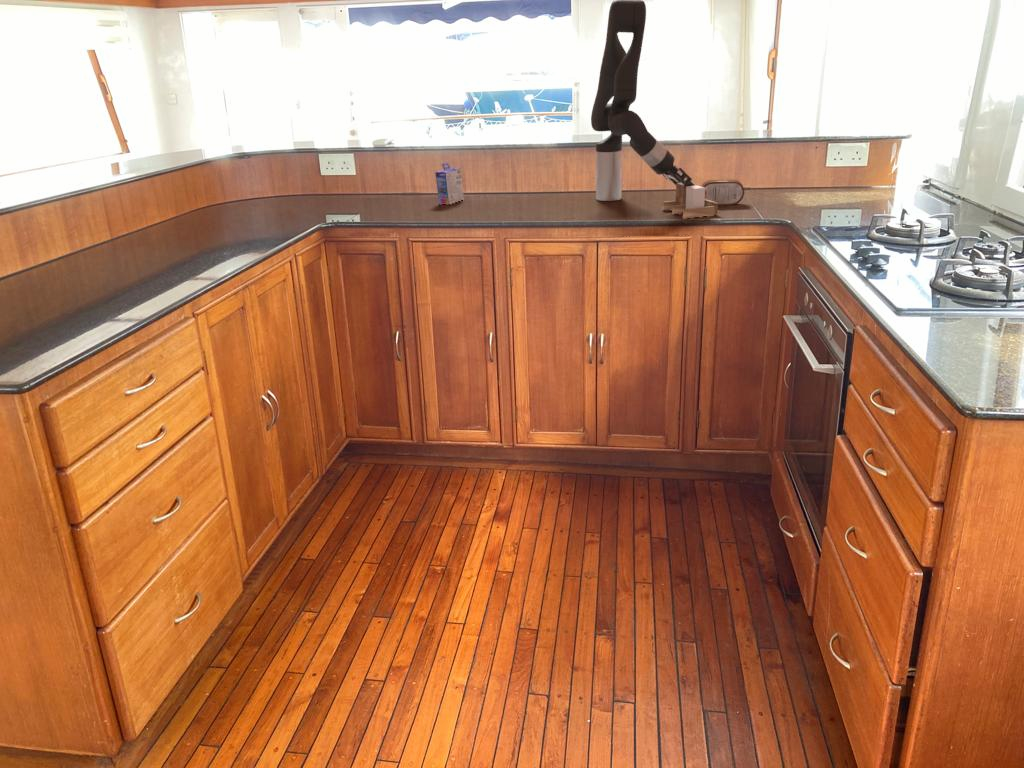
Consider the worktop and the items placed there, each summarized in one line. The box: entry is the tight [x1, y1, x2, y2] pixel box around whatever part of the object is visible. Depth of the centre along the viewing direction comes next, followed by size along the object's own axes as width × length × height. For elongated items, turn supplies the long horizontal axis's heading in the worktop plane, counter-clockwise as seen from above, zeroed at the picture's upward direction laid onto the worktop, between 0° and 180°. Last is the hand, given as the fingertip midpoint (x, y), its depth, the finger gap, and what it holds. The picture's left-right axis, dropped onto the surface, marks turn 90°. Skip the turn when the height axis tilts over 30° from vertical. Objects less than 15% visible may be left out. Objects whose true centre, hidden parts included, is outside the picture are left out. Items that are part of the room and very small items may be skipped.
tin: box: [701, 179, 745, 206], centre depth 273 cm, size 15×3×8 cm, turn 84°
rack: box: [661, 199, 719, 220], centre depth 263 cm, size 15×12×4 cm
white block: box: [686, 185, 705, 209], centre depth 259 cm, size 5×4×9 cm
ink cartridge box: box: [435, 162, 465, 206], centre depth 300 cm, size 10×6×14 cm, turn 148°
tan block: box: [675, 183, 686, 205], centre depth 266 cm, size 5×4×9 cm
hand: (687, 188), depth 266 cm, fingers open, 8 cm apart
